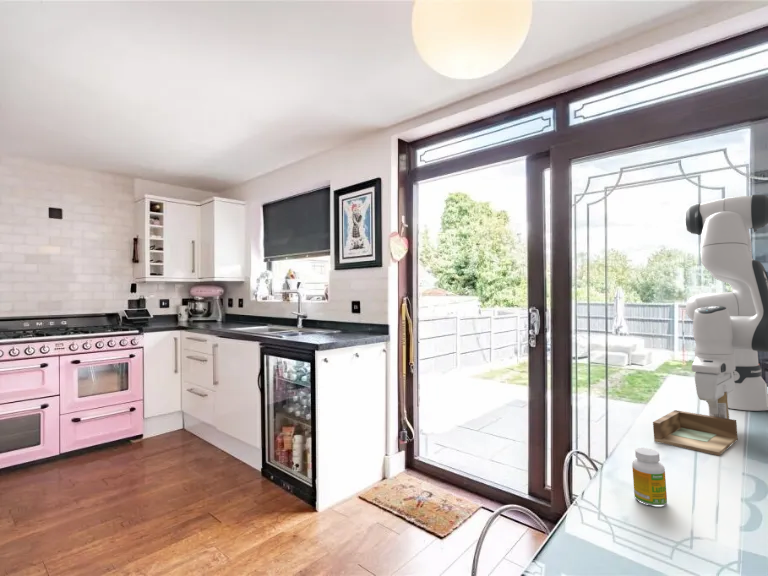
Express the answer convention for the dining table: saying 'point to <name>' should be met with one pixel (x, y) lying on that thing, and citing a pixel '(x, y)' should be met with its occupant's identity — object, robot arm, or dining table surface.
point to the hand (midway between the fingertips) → (718, 411)
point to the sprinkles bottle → (722, 406)
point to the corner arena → (696, 431)
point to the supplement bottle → (649, 477)
